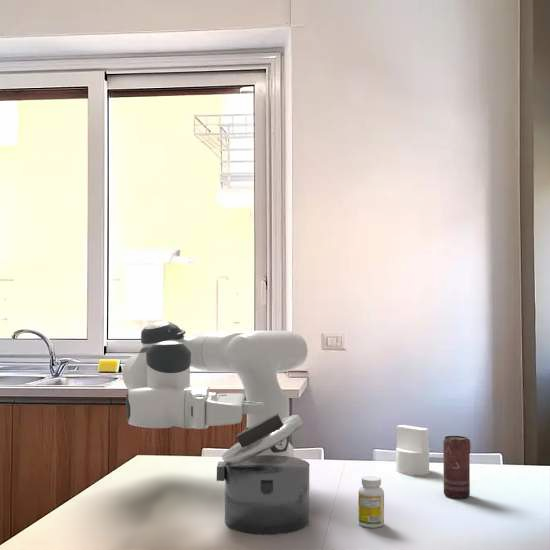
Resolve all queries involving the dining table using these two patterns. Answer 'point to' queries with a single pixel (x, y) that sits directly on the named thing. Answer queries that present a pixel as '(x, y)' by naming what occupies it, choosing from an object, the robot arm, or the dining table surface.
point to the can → (456, 467)
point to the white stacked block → (412, 450)
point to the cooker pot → (266, 494)
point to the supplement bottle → (371, 502)
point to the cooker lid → (261, 438)
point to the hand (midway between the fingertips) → (265, 407)
